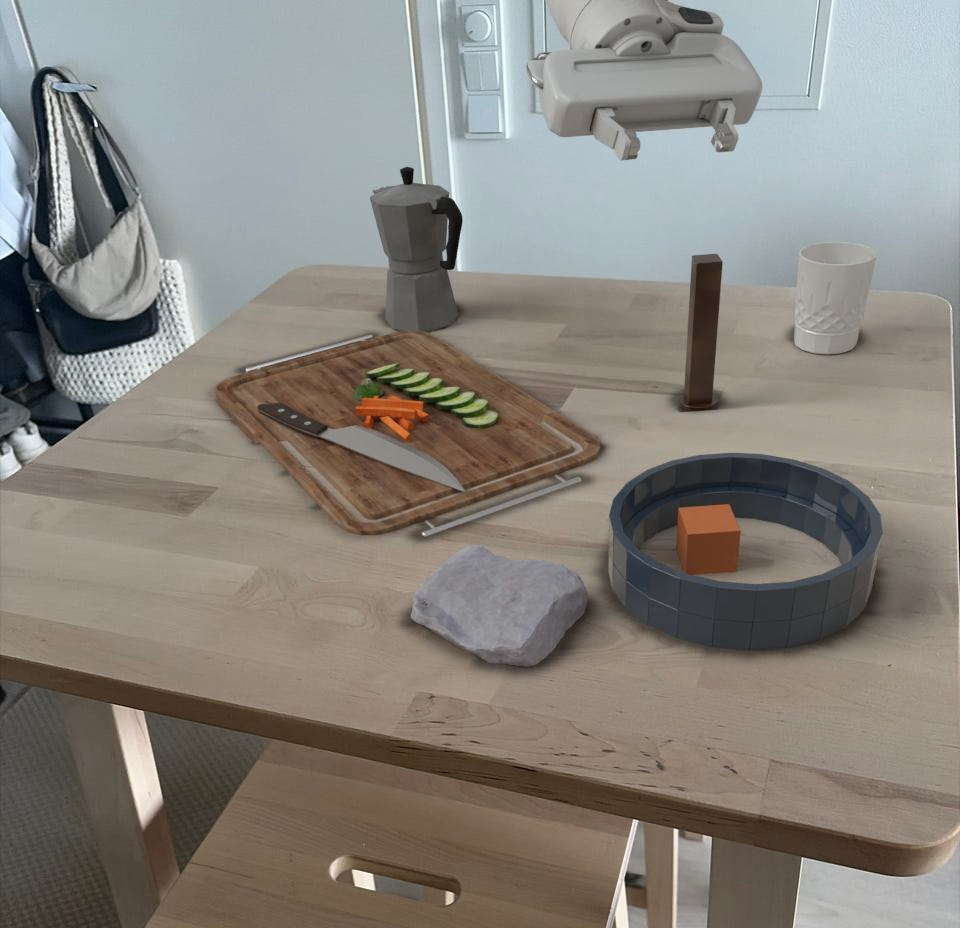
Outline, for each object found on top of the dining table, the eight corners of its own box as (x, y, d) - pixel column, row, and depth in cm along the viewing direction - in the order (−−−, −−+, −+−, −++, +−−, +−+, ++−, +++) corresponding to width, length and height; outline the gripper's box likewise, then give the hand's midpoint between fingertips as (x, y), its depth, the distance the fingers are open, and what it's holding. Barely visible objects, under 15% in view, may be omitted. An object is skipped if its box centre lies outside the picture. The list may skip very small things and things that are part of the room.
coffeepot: (360, 319, 131) (339, 168, 120) (417, 298, 136) (402, 151, 125) (439, 348, 122) (424, 187, 111) (497, 324, 127) (488, 168, 116)
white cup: (865, 357, 112) (881, 264, 106) (790, 357, 113) (802, 265, 107) (856, 330, 118) (871, 240, 112) (785, 330, 119) (796, 241, 113)
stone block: (539, 701, 73) (598, 605, 78) (527, 656, 70) (591, 559, 75) (402, 660, 79) (466, 573, 84) (385, 616, 75) (453, 528, 80)
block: (725, 547, 83) (729, 503, 81) (736, 574, 80) (740, 530, 77) (675, 550, 83) (678, 507, 81) (684, 578, 80) (687, 534, 77)
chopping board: (631, 471, 95) (631, 441, 93) (369, 565, 85) (364, 534, 84) (411, 331, 127) (408, 306, 125) (202, 388, 117) (196, 362, 115)
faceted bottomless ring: (825, 508, 88) (835, 444, 84) (906, 649, 72) (923, 579, 69) (595, 524, 88) (595, 461, 85) (627, 668, 73) (629, 599, 69)
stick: (712, 398, 106) (724, 250, 97) (721, 415, 103) (733, 263, 94) (674, 401, 106) (681, 253, 97) (681, 418, 103) (689, 266, 94)
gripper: (526, 21, 90) (577, 123, 84) (734, 12, 95) (796, 108, 89) (514, 89, 95) (561, 190, 89) (711, 77, 100) (768, 172, 95)
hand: (680, 149), depth 89 cm, fingers open, 8 cm apart
